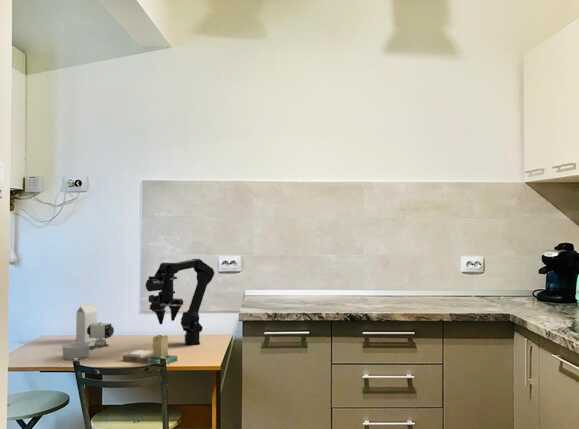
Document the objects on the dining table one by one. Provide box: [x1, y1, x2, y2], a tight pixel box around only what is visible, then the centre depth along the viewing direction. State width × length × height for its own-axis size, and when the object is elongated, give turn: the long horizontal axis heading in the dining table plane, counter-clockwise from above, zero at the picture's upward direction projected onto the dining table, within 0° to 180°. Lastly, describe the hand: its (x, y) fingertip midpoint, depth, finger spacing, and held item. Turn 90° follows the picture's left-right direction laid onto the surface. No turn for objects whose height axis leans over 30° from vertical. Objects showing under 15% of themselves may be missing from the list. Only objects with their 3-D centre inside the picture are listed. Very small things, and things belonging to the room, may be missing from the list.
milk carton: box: [75, 302, 98, 343], centre depth 247 cm, size 7×7×19 cm
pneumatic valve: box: [87, 321, 115, 349], centre depth 235 cm, size 6×12×12 cm, turn 79°
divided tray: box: [122, 349, 178, 365], centre depth 211 cm, size 22×9×3 cm, turn 67°
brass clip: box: [152, 334, 169, 360], centre depth 209 cm, size 4×4×11 cm
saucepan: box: [61, 341, 109, 361], centre depth 217 cm, size 12×20×6 cm, turn 91°
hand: (166, 322), depth 229 cm, fingers open, 9 cm apart
